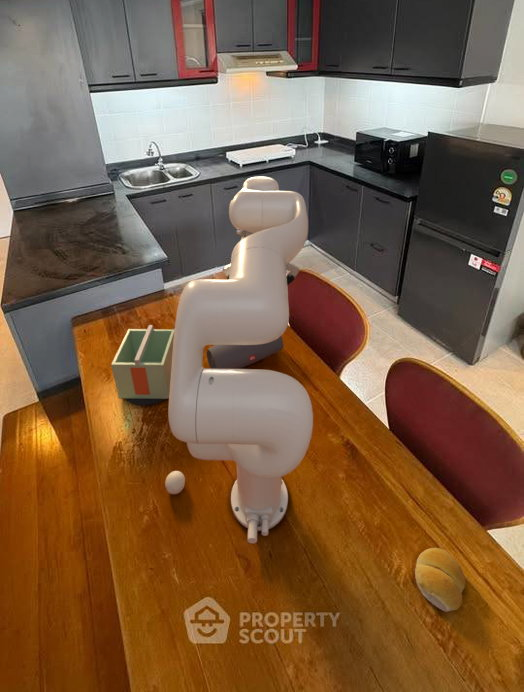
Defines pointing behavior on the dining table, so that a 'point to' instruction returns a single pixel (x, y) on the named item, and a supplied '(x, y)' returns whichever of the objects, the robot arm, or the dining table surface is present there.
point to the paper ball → (175, 482)
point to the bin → (144, 363)
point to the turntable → (143, 401)
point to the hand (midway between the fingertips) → (260, 298)
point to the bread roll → (440, 579)
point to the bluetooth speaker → (241, 354)
